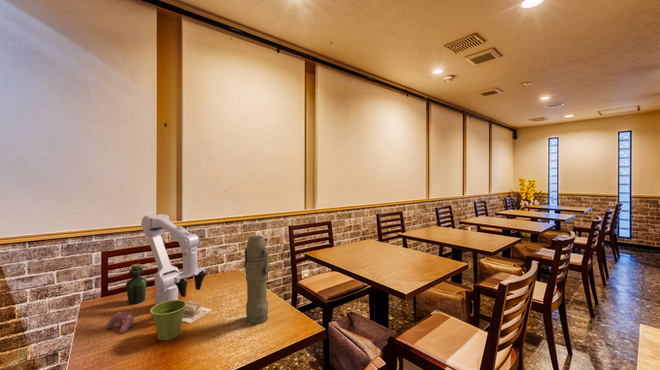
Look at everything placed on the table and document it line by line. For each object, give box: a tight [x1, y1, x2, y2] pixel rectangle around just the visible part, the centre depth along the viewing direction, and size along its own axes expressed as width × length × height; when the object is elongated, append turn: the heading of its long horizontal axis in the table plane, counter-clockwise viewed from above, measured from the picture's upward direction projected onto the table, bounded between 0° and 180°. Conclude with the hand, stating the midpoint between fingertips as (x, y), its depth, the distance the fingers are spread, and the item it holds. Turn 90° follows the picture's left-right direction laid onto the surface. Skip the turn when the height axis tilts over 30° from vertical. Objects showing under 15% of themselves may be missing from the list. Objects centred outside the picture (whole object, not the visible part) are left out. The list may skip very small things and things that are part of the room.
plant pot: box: [149, 299, 187, 342], centre depth 103 cm, size 12×12×11 cm
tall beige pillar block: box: [183, 300, 202, 317], centre depth 119 cm, size 4×8×4 cm, turn 67°
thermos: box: [244, 235, 270, 326], centre depth 114 cm, size 9×12×35 cm
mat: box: [182, 306, 213, 324], centre depth 119 cm, size 12×12×1 cm
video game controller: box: [104, 311, 135, 334], centre depth 108 cm, size 10×5×7 cm, turn 71°
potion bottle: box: [125, 263, 147, 305], centre depth 131 cm, size 8×8×18 cm
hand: (190, 292), depth 119 cm, fingers open, 7 cm apart
